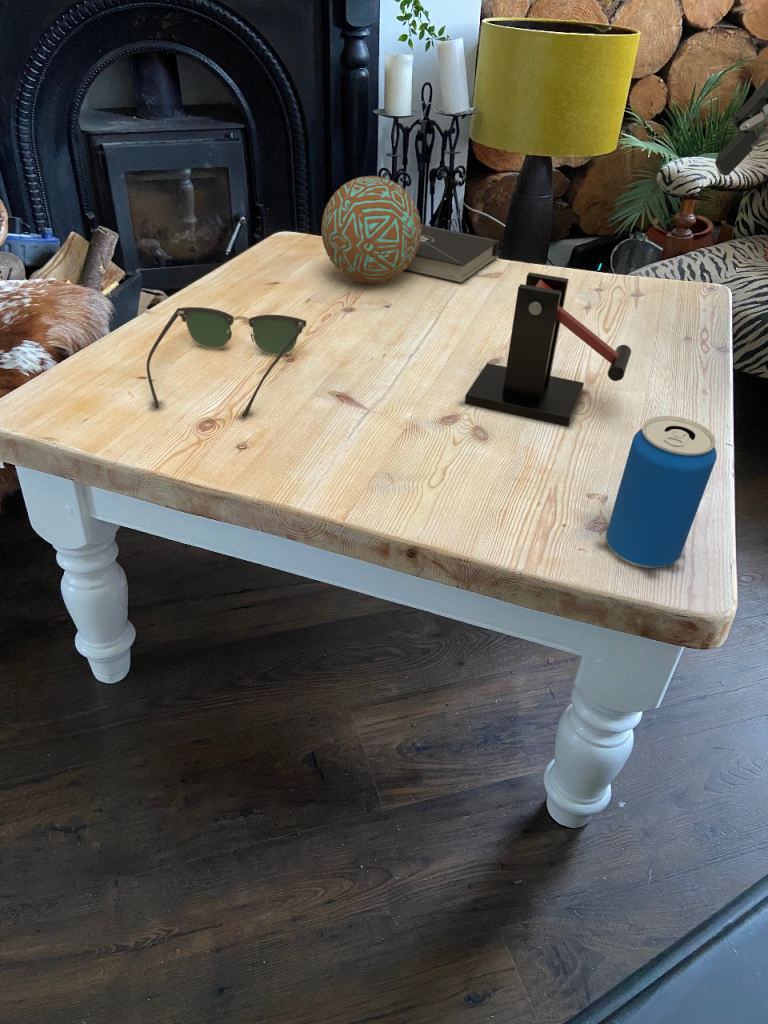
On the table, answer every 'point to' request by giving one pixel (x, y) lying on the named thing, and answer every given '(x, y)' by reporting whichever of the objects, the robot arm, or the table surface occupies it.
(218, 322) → the sunglasses
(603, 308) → the table surface
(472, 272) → the book
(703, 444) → the beverage can
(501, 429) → the table surface
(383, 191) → the decorative sphere
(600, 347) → the lever
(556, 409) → the bracket
